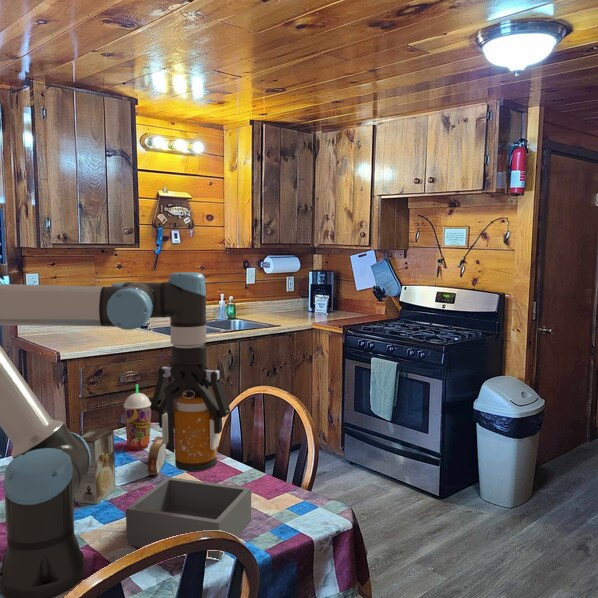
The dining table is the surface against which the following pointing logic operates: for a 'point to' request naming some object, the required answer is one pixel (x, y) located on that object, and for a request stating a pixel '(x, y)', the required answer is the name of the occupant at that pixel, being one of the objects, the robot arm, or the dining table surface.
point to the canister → (189, 428)
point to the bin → (187, 511)
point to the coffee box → (98, 467)
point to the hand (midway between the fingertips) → (190, 444)
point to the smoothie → (137, 420)
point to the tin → (156, 456)
